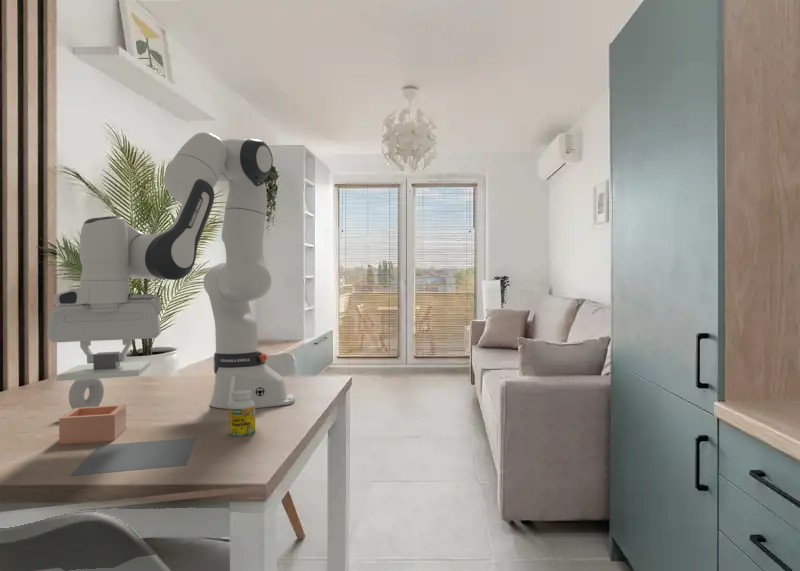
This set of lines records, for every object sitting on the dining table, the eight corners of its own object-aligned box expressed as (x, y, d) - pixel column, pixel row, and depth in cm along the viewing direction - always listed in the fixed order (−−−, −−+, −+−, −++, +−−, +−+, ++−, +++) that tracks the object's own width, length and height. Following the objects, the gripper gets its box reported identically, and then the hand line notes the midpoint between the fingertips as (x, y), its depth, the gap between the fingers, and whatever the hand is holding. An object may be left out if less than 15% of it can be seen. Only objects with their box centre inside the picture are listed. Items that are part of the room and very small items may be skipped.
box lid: (150, 365, 118) (150, 347, 118) (138, 376, 104) (137, 355, 104) (78, 369, 114) (78, 351, 114) (56, 380, 100) (56, 359, 100)
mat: (196, 441, 110) (196, 437, 110) (186, 469, 93) (186, 465, 93) (99, 449, 105) (99, 445, 105) (69, 480, 88) (69, 475, 88)
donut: (77, 418, 132) (76, 377, 132) (65, 417, 132) (64, 377, 132) (107, 409, 141) (106, 371, 141) (95, 408, 142) (95, 371, 142)
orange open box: (126, 431, 118) (125, 404, 118) (114, 444, 109) (114, 414, 109) (75, 435, 116) (75, 407, 116) (59, 448, 106) (59, 418, 106)
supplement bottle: (255, 432, 117) (255, 388, 117) (254, 439, 111) (254, 393, 111) (230, 434, 115) (229, 389, 115) (227, 441, 110) (227, 394, 110)
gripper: (163, 293, 115) (164, 357, 115) (54, 295, 109) (56, 363, 109) (158, 293, 109) (159, 361, 109) (43, 296, 103) (45, 367, 103)
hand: (107, 362), depth 109 cm, fingers closed on box lid, 4 cm apart
